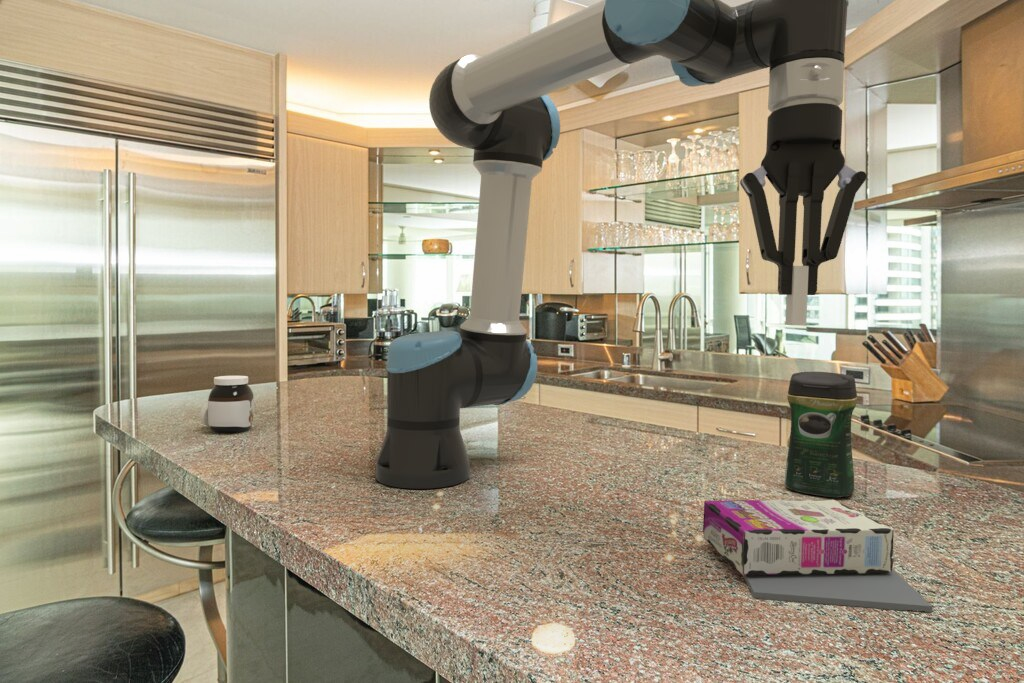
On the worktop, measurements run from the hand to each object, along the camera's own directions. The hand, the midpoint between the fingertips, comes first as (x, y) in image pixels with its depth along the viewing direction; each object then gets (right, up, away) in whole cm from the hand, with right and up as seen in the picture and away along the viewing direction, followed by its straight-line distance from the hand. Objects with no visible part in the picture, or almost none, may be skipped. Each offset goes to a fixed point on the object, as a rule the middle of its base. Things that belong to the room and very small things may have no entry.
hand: (795, 324), depth 73 cm
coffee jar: (+16, -25, +28) cm, 41 cm away
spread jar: (-94, -21, +68) cm, 118 cm away
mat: (+1, -27, -3) cm, 27 cm away
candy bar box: (-9, -23, -1) cm, 25 cm away
